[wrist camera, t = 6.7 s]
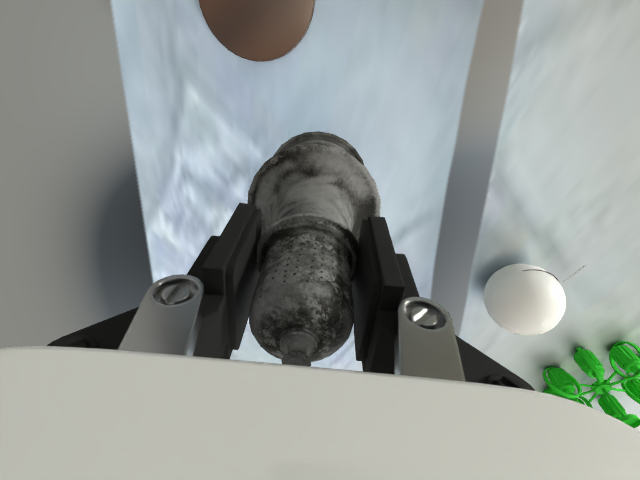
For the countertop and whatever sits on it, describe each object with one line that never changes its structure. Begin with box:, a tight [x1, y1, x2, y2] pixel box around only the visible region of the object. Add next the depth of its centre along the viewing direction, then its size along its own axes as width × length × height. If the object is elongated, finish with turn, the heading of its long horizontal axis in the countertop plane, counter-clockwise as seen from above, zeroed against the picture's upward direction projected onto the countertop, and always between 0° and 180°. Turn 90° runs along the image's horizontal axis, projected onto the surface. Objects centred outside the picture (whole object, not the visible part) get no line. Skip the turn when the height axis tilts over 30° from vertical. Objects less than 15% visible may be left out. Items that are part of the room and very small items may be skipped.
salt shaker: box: [248, 132, 380, 367], centre depth 13 cm, size 6×6×12 cm
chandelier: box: [542, 341, 640, 428], centre depth 42 cm, size 15×15×7 cm
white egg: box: [484, 264, 586, 335], centre depth 34 cm, size 10×7×7 cm
